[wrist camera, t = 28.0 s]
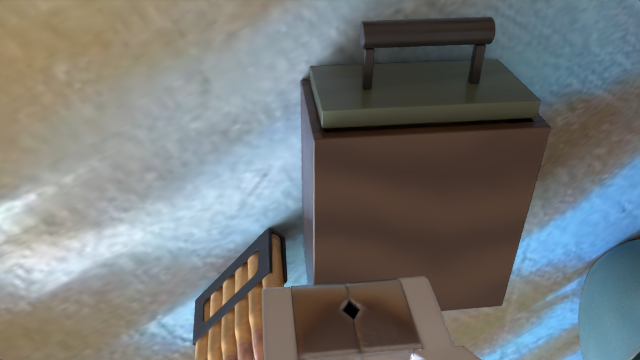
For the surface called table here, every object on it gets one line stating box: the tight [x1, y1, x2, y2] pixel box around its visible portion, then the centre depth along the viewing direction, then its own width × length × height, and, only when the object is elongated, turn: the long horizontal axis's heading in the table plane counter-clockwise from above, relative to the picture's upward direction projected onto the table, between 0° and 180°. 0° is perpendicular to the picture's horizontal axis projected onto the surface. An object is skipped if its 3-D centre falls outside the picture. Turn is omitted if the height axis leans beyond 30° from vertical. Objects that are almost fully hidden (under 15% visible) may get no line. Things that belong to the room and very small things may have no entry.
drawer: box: [310, 17, 540, 133], centre depth 38 cm, size 19×13×7 cm
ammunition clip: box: [193, 229, 287, 360], centre depth 43 cm, size 11×2×12 cm, turn 138°
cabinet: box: [301, 80, 551, 311], centre depth 40 cm, size 16×15×9 cm
